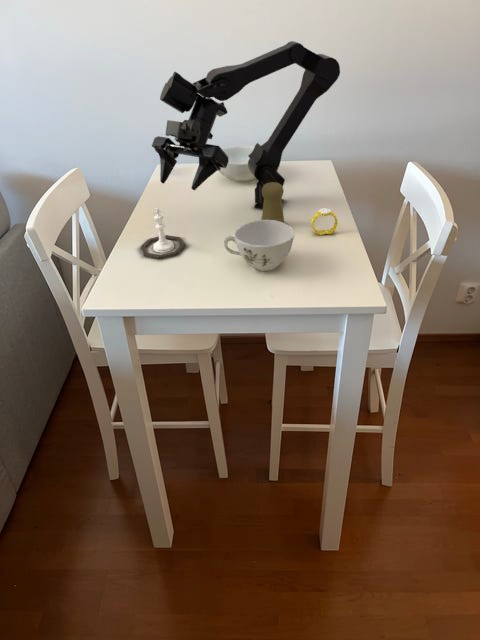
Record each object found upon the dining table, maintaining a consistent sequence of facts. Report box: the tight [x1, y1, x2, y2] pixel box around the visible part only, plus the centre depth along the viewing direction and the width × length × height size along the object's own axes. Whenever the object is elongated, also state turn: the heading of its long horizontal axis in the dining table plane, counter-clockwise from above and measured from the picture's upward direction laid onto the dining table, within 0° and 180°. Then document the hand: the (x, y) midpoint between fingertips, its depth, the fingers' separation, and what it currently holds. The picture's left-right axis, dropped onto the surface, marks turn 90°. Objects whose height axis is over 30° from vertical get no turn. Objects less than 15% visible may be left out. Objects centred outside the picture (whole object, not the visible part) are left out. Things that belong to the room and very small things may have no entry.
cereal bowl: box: [218, 145, 256, 183], centre depth 142 cm, size 17×17×7 cm
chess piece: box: [152, 207, 175, 253], centre depth 108 cm, size 5×5×10 cm
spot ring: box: [139, 234, 186, 260], centre depth 111 cm, size 10×10×1 cm
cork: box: [261, 182, 285, 223], centre depth 114 cm, size 6×6×11 cm
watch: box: [311, 207, 339, 236], centre depth 111 cm, size 6×3×6 cm, turn 91°
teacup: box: [223, 219, 295, 272], centre depth 101 cm, size 15×12×8 cm
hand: (177, 186), depth 108 cm, fingers open, 9 cm apart
